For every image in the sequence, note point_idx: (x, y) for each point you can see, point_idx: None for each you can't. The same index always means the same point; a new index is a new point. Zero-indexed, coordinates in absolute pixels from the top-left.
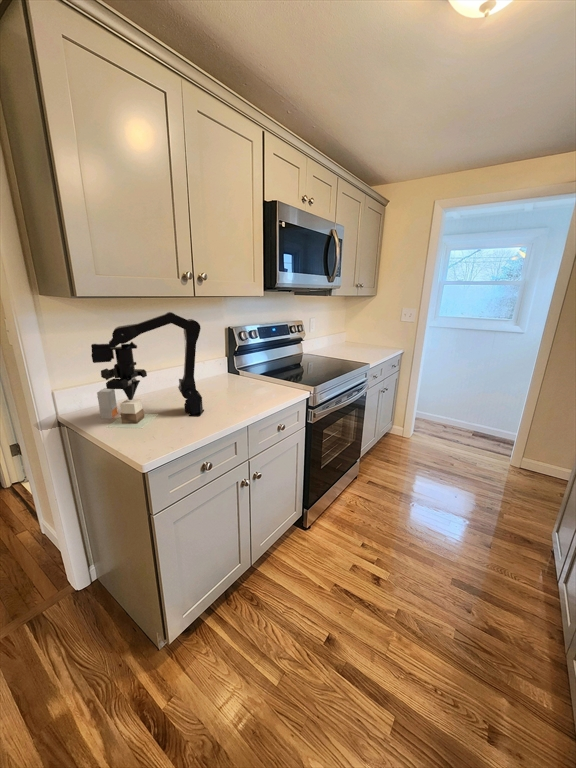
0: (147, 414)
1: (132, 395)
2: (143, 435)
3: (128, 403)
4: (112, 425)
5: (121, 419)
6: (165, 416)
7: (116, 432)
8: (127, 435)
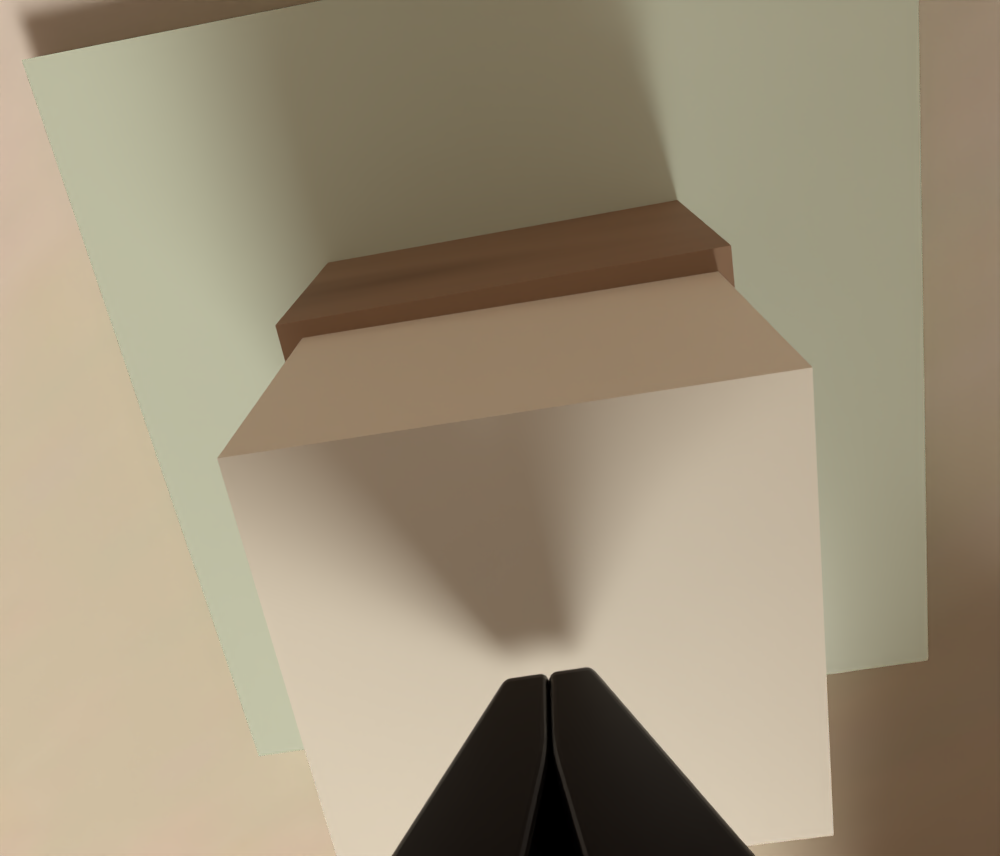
0: (895, 468)
1: None
2: (125, 837)
3: (344, 713)
4: (157, 141)
5: (310, 287)
6: (907, 748)
7: (26, 383)
8: (20, 635)
